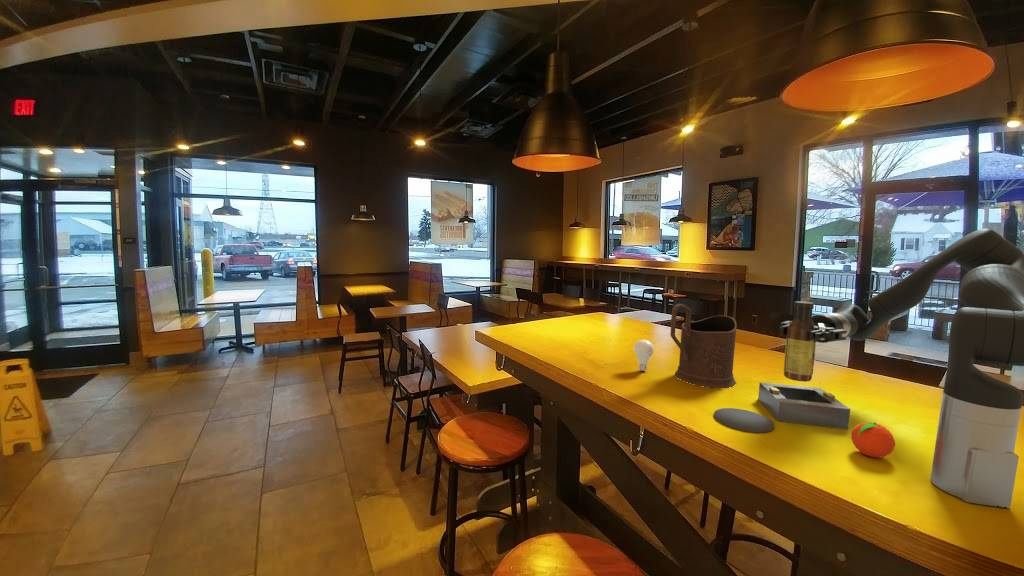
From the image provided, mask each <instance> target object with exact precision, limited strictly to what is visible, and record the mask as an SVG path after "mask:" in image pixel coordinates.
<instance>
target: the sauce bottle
mask: <svg viewBox="0 0 1024 576" xmlns="http://www.w3.org/2000/svg"><path fill="white" fill-rule="evenodd" d="M814 307H815V306H814V302H812V301H811V302H810V301H800V300H799V301H798V300H797V301H794V302H793V308H794V313H793V319H792V320H791V321H792V322H791V323H790V325H789V326H788V329H787V335H786V338H785V348H784V349H785V350H784V362H783V375H784V377H785V378H786V379H789V380H792V381H795V382H806V383H807V382H810V381H812V378H813V375H814V367H815V356H816V343H817V342H816V340H814V341H813V340H809V336H810V332H811V331H815V328H814V325H813V321H812V316H813V310H814Z"/></svg>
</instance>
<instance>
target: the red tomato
mask: <svg viewBox="0 0 1024 576" xmlns="http://www.w3.org/2000/svg"><path fill="white" fill-rule="evenodd" d="M850 436H851V438H850V439H851V441H852V444H853V445H854V446H855V448H856V449H857V451H859V452H861V453H862V454H863V455H866V456H869V457H872V458H884V457H887V456H888V455H891V454H892V453H893V451H894V449H895V447H896V441H895V438H894V434H892V432H891V431H890V430H888V429H887V428H886V427H885V426H883V425H881V424H878V423H876V422H872V421H871V422H869V421H866V422H863V423H862V422H861V423H859V424H857V425H855V426H854V427H853V429H852V431H851V434H850Z"/></svg>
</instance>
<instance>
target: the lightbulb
mask: <svg viewBox="0 0 1024 576" xmlns="http://www.w3.org/2000/svg"><path fill="white" fill-rule="evenodd" d="M654 350H655V348H654V345H653V343H652V342H651V341H650V340H647V339H639V340H638V341H636V343H635V344H634V346H633V351H634V353H635V355H636V357H637V362H638V371H640V372H642V371H644V372H646V371H647V370H648V363H649V361H650V359H651V357H652V356H653V354H654Z"/></svg>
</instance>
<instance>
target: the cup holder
mask: <svg viewBox="0 0 1024 576" xmlns="http://www.w3.org/2000/svg"><path fill="white" fill-rule="evenodd" d="M681 307H682V308H684V309H685V313H686V314H685V322H683V323H682V324H681V333H680V334H681V335H680V341H679V339H678V337H677V336H676V327H677V313H678V309H679V308H681ZM691 319H692V309H691V308H690V307H689V306H688V305H687V304H682V303H676V304H675V305H674V306H672V309H671V319H670V320H671V321H670V338H671V339H672V340H673V341H674V342H675V344H676V346H677V347H678V349H679V359H678V360H679V361H678V367H677V370H676V371H675V373H674V374H675V376H676V377H677V378H679V379H681V380H682V381H685V382H688V383H691V384H695V385H698V386H697V387H700V386H704V387H703V388H705V387H711V388H710V389H715V388H724V389H730V388H729V387H731V388H734V387H735V386H734V385H735V384H736V385H737V381H736V380H735V378H734V373H733V370H734V360H735V347H736V336H737V326H738V325H737V320H736V319H735V318H733V317H731V316H727V315H714V316H710V317H706V318H704V319H700V320H697V321H696V320H695V321H691ZM675 376H674V377H675ZM676 377H675V378H676ZM677 378H676V379H677ZM682 381H681V382H682ZM685 382H684V383H685ZM688 383H687V384H688ZM691 384H690V385H691ZM695 385H694V386H695ZM733 386H734V387H733Z"/></svg>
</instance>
